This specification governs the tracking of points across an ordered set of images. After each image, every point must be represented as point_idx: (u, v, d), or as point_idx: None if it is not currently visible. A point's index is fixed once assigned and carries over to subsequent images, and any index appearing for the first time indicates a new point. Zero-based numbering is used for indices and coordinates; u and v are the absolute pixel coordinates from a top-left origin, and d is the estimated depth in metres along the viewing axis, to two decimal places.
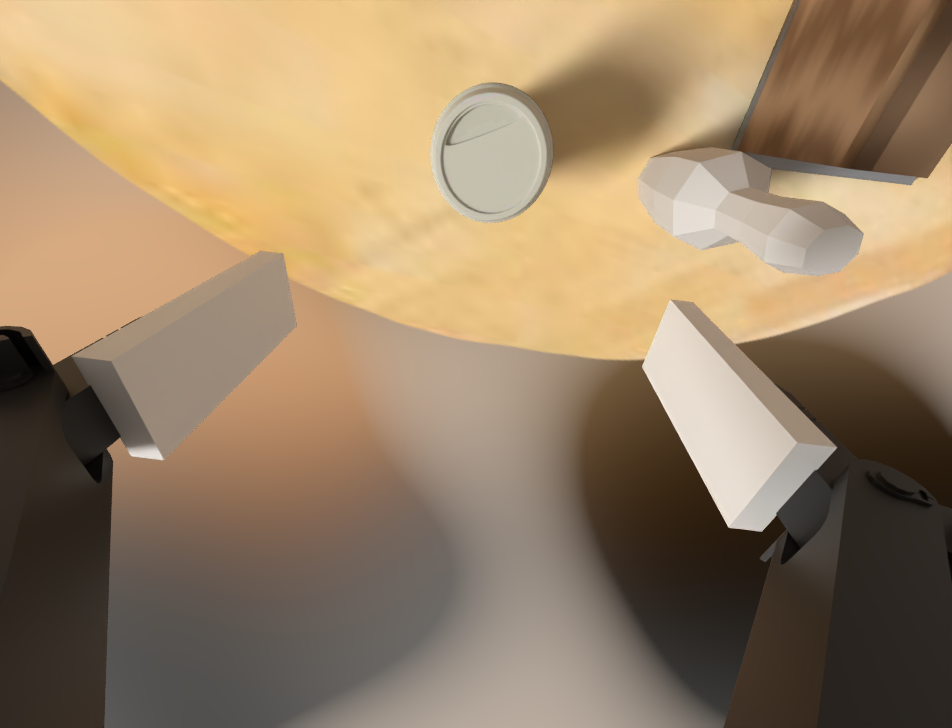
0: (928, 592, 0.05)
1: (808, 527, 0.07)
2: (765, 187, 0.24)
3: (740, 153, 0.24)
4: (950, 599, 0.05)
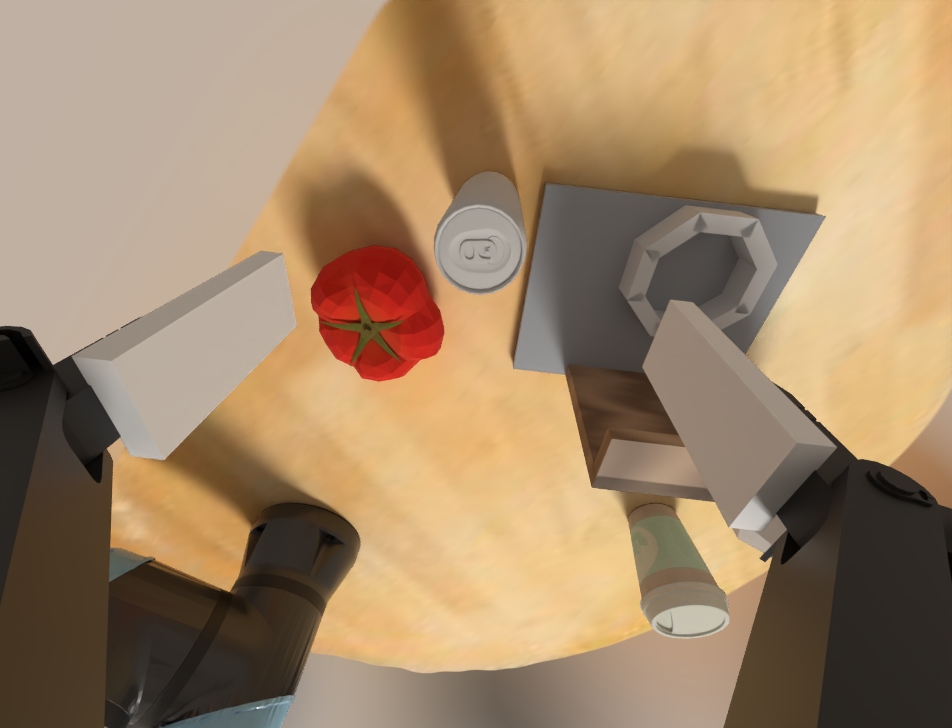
0: (928, 592, 0.05)
1: (808, 527, 0.07)
2: None
3: None
4: (950, 599, 0.05)
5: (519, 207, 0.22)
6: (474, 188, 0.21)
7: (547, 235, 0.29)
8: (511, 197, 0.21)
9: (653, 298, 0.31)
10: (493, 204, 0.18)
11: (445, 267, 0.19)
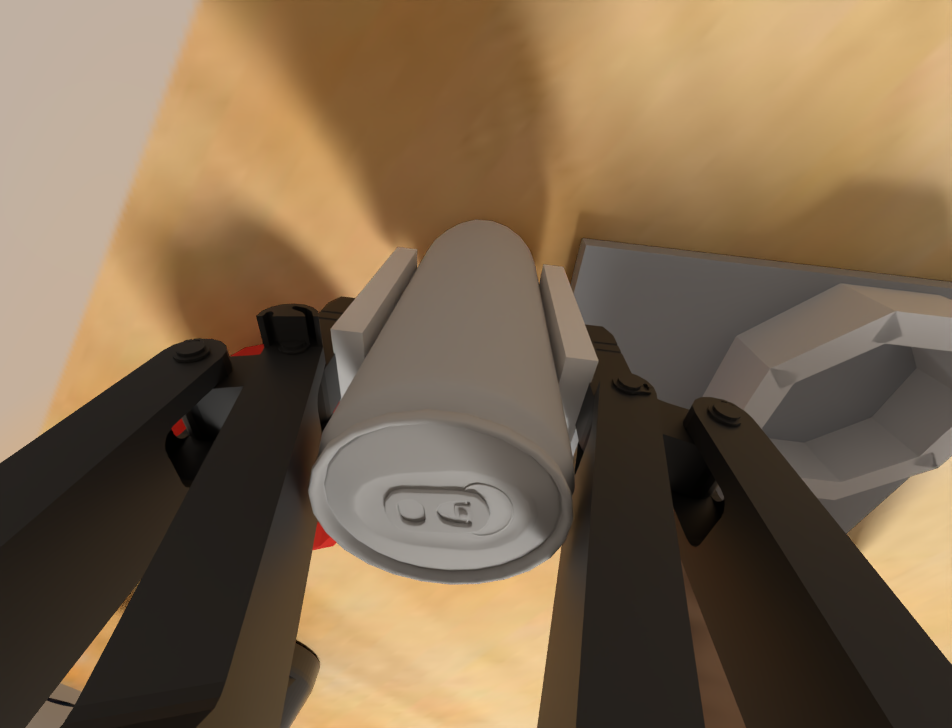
0: (651, 461, 0.06)
1: (587, 437, 0.09)
2: None
3: None
4: (664, 461, 0.06)
5: (543, 327, 0.10)
6: (438, 296, 0.09)
7: None
8: (526, 311, 0.09)
9: None
10: (479, 401, 0.06)
11: (350, 533, 0.07)
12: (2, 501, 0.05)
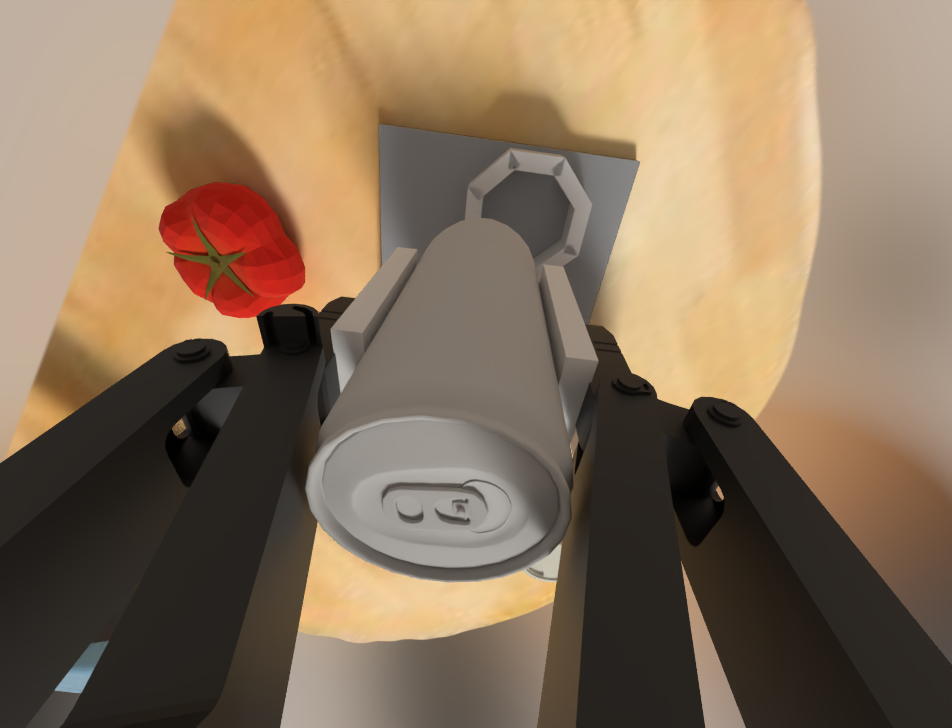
0: (651, 461, 0.06)
1: (587, 437, 0.09)
2: None
3: None
4: (664, 461, 0.06)
5: (542, 324, 0.10)
6: (436, 293, 0.09)
7: (389, 176, 0.30)
8: (525, 308, 0.09)
9: None
10: (477, 397, 0.06)
11: (348, 531, 0.07)
12: (2, 501, 0.05)
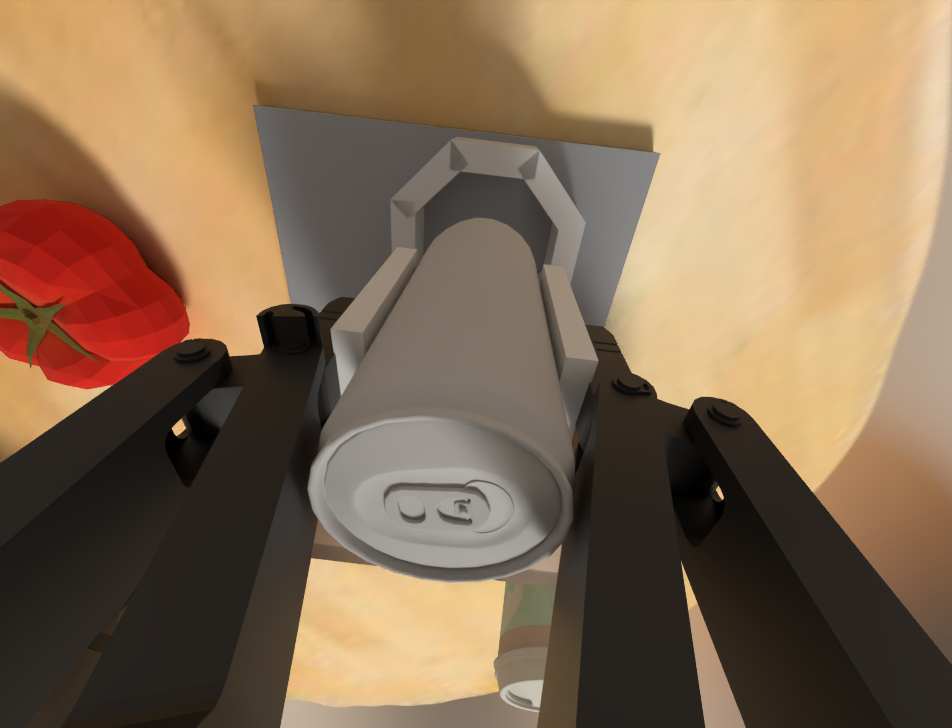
0: (651, 461, 0.06)
1: (587, 437, 0.09)
2: None
3: None
4: (663, 461, 0.06)
5: (544, 324, 0.10)
6: (438, 293, 0.09)
7: (282, 185, 0.20)
8: (527, 309, 0.09)
9: None
10: (479, 398, 0.06)
11: (350, 531, 0.07)
12: (2, 501, 0.05)
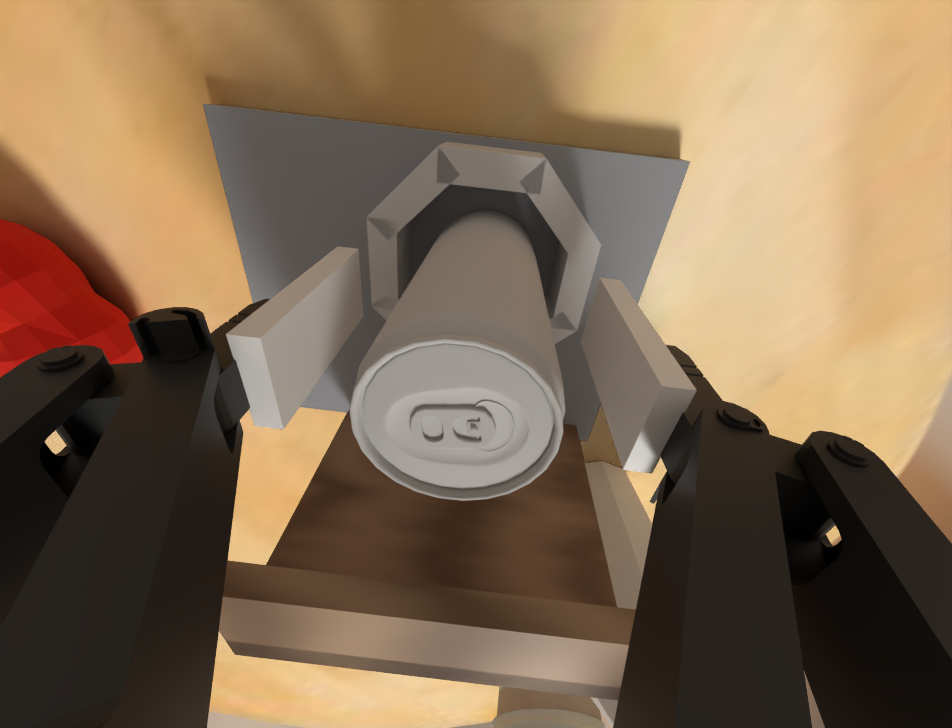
0: (762, 504, 0.06)
1: (680, 467, 0.08)
2: None
3: None
4: (777, 506, 0.06)
5: (540, 293, 0.11)
6: (450, 263, 0.10)
7: (242, 197, 0.17)
8: (525, 277, 0.11)
9: None
10: (486, 330, 0.07)
11: (381, 452, 0.09)
12: None
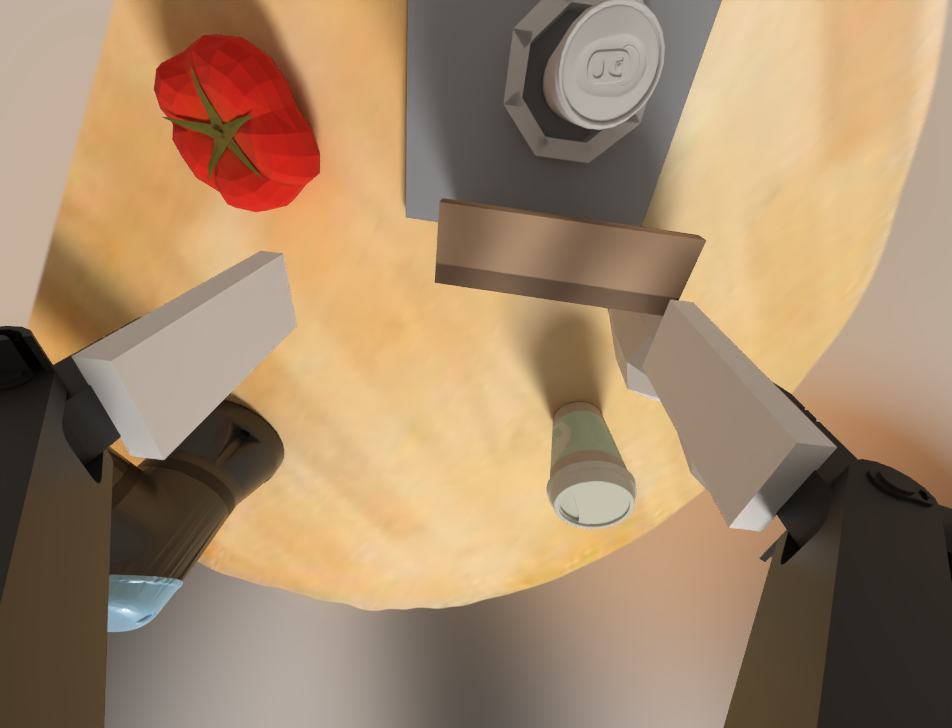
0: (928, 592, 0.05)
1: (808, 527, 0.07)
2: None
3: (628, 363, 0.27)
4: (950, 599, 0.05)
5: None
6: None
7: (418, 30, 0.26)
8: None
9: (543, 119, 0.28)
10: None
11: (567, 91, 0.17)
12: None
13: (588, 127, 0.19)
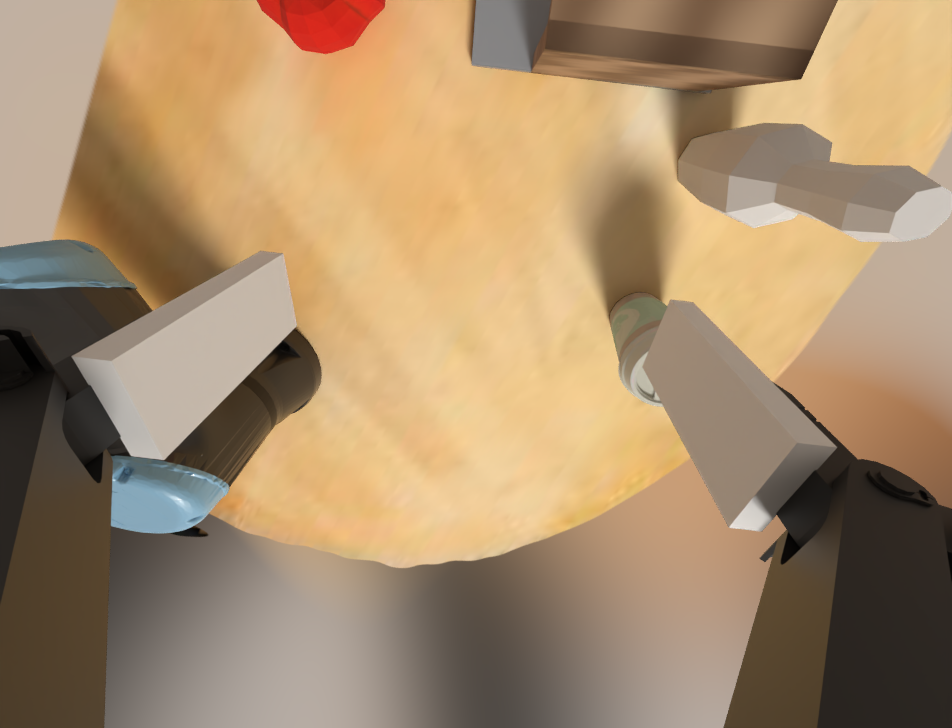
0: (928, 592, 0.05)
1: (808, 527, 0.07)
2: (781, 157, 0.23)
3: (731, 176, 0.25)
4: (950, 599, 0.05)
5: None
6: None
7: None
8: None
9: None
10: None
11: None
12: None
13: None
